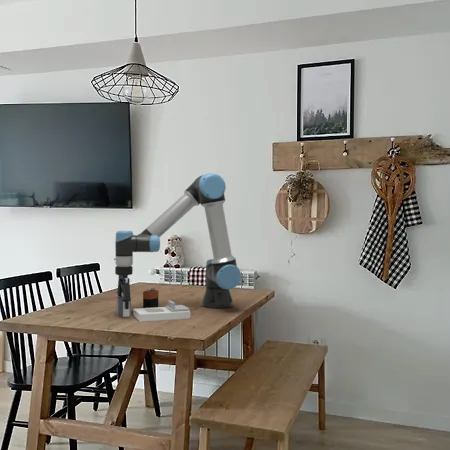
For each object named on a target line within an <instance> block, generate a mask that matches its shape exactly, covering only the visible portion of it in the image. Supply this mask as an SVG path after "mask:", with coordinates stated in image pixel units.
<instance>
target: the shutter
mask: <svg viewBox="0 0 450 450" xmlns="http://www.w3.org/2000/svg"><path fill="white" fill-rule="evenodd" d="M165 307H166V308H168V309H169V310H171V311H183V310H188V311H190V308H189V307H188V306H185V305H184V304H176V302H174V301H172V300H170V299H168V300H167V305H165Z"/></svg>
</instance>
